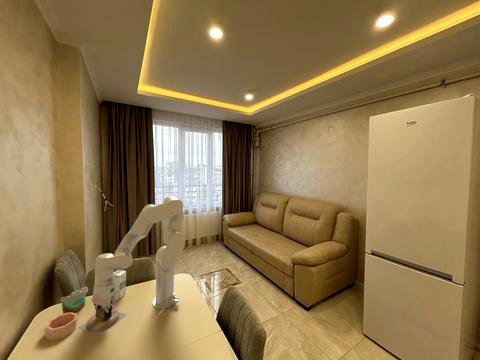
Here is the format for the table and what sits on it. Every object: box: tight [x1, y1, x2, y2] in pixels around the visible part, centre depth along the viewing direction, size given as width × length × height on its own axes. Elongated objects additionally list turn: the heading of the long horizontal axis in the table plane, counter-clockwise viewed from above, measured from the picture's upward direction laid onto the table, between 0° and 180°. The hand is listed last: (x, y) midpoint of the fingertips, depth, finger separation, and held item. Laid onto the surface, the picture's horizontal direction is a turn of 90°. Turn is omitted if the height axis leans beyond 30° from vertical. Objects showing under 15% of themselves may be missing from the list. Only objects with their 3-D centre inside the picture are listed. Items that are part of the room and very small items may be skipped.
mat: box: [77, 311, 128, 337], centre depth 95 cm, size 14×14×1 cm
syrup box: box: [114, 269, 127, 300], centre depth 113 cm, size 6×6×14 cm
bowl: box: [44, 312, 79, 341], centre depth 88 cm, size 10×10×5 cm
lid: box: [86, 306, 120, 331], centre depth 94 cm, size 13×13×6 cm
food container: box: [59, 284, 89, 314], centre depth 102 cm, size 12×6×10 cm, turn 168°
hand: (103, 317), depth 94 cm, fingers open, 4 cm apart
